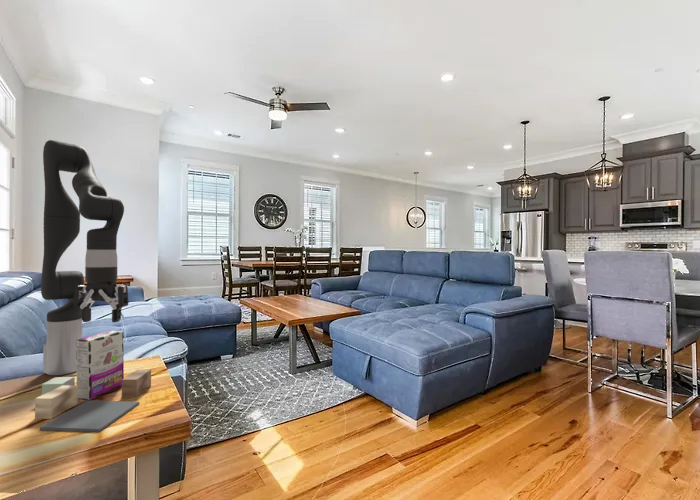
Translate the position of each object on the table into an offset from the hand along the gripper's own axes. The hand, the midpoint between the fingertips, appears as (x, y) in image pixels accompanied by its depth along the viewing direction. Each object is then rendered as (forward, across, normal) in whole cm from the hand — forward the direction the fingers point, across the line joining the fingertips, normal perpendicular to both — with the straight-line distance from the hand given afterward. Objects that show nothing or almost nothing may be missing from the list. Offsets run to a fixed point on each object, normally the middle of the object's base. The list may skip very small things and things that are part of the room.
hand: (101, 321), depth 100 cm
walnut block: (+20, -10, -1) cm, 23 cm away
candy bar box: (+20, 0, 0) cm, 20 cm away
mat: (+20, -9, +14) cm, 26 cm away
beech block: (+20, +2, +12) cm, 24 cm away
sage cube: (+20, +8, +5) cm, 22 cm away
